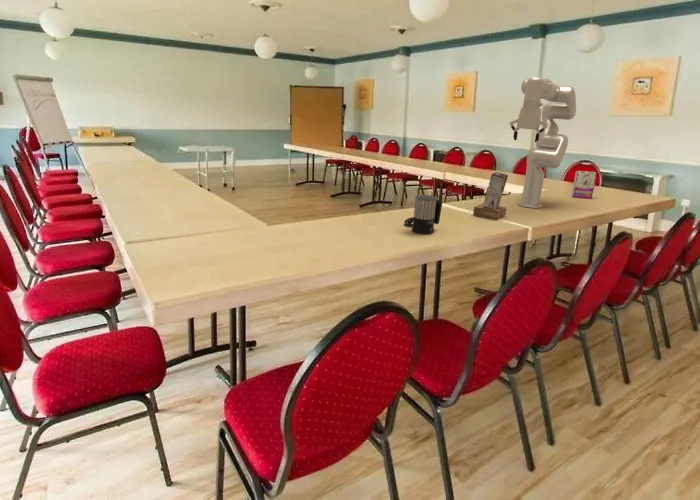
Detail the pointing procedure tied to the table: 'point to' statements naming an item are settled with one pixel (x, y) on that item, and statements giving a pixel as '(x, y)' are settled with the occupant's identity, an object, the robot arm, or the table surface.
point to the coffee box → (495, 190)
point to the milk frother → (425, 214)
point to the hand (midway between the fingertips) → (525, 141)
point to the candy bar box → (583, 184)
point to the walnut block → (489, 212)
